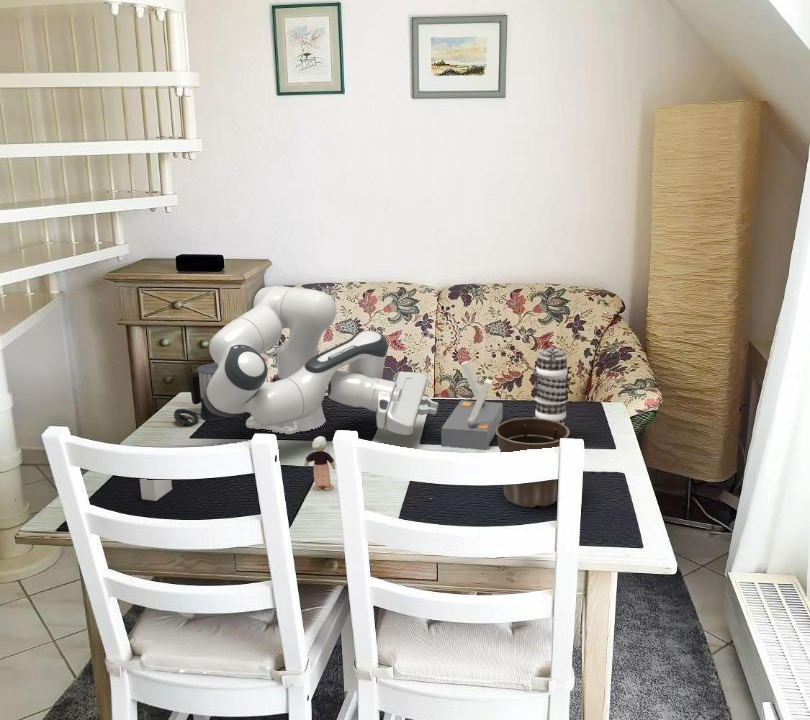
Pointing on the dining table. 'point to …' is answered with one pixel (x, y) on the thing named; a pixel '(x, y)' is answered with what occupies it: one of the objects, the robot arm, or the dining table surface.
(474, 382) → the switch lever
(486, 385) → the switch lever
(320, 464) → the grandmother figurine
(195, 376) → the milk frother
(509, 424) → the plant pot
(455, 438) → the switch unit
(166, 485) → the light grey rectangular block
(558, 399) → the decorative candle
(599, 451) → the dining table surface
